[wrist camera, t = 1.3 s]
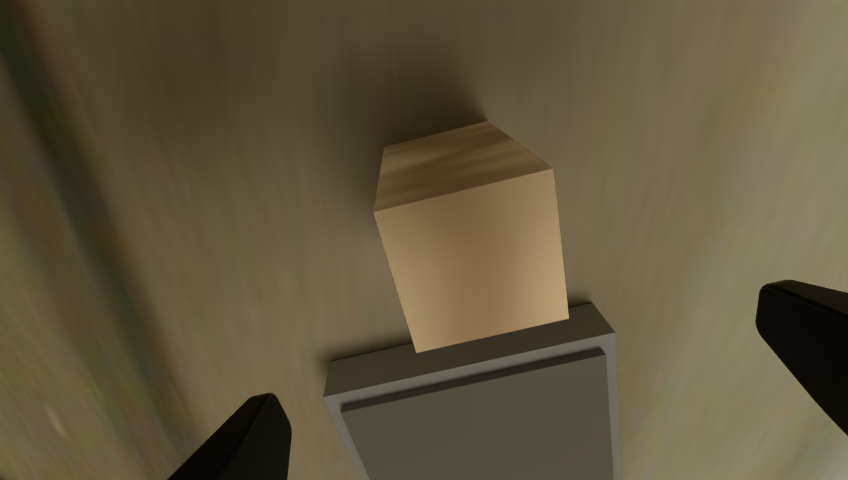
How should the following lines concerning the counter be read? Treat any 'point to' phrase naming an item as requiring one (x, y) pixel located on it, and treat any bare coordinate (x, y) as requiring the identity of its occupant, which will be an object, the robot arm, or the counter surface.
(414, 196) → the oak block
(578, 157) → the counter surface
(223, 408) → the counter surface
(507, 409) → the plate
